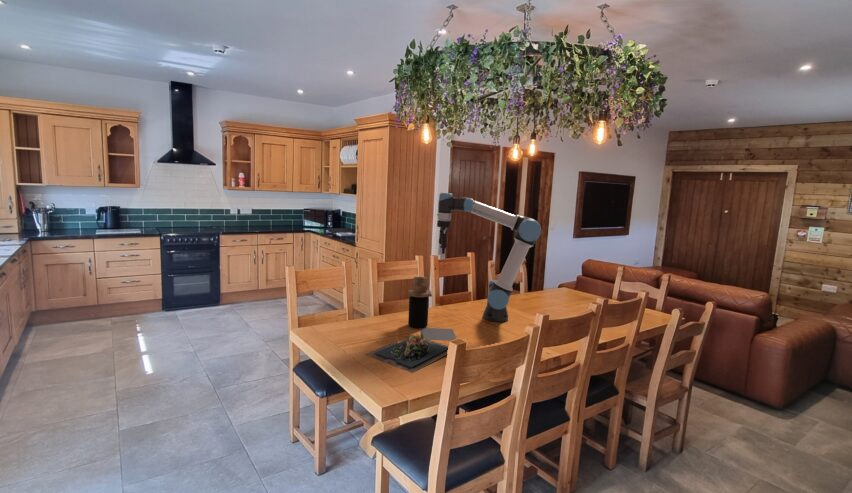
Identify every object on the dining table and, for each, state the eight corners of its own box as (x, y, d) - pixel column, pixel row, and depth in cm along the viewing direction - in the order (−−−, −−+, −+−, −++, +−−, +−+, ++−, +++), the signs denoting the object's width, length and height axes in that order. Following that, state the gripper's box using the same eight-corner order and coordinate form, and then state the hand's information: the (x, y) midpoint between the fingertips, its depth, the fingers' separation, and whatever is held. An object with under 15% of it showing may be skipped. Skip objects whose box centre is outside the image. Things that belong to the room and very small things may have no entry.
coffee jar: (428, 324, 248) (429, 292, 246) (426, 329, 237) (427, 296, 236) (409, 323, 249) (410, 291, 247) (406, 328, 238) (408, 295, 237)
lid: (430, 292, 247) (430, 276, 246) (431, 296, 235) (432, 279, 234) (408, 291, 246) (409, 275, 245) (409, 296, 234) (409, 278, 233)
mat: (452, 330, 241) (452, 329, 241) (456, 342, 224) (457, 340, 224) (419, 328, 240) (419, 327, 240) (421, 340, 222) (421, 339, 222)
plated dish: (411, 334, 228) (412, 321, 227) (457, 350, 212) (458, 335, 211) (364, 355, 200) (364, 340, 199) (413, 375, 184) (414, 358, 183)
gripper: (435, 218, 263) (433, 253, 266) (439, 221, 239) (436, 260, 242) (448, 218, 264) (445, 253, 267) (453, 222, 239) (450, 261, 242)
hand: (441, 257), depth 254 cm, fingers open, 13 cm apart
